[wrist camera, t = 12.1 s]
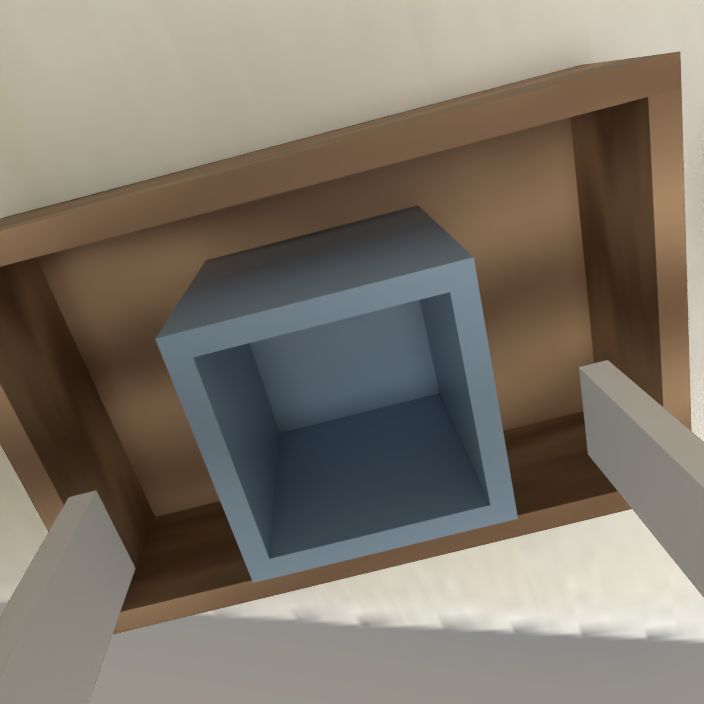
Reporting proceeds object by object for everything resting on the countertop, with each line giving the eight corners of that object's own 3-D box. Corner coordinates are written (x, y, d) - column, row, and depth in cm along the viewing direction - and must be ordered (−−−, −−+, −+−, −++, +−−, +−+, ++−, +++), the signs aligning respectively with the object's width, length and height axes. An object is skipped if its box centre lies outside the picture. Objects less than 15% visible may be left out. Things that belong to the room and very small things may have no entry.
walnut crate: (4, 217, 25) (-102, 258, 18) (580, 65, 24) (680, 51, 18) (148, 524, 31) (105, 635, 25) (610, 410, 30) (693, 494, 24)
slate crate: (205, 260, 25) (155, 338, 17) (418, 205, 25) (473, 257, 17) (268, 443, 29) (252, 582, 20) (456, 396, 28) (517, 518, 20)
